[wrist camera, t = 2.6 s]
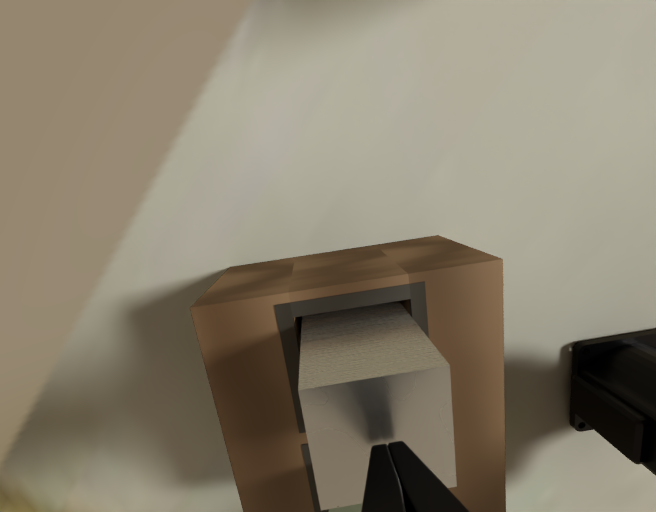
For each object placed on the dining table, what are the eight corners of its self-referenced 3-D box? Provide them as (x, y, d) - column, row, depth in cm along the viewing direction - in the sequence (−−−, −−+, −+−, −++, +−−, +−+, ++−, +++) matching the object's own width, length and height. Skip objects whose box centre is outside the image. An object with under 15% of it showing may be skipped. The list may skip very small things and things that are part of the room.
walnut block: (437, 235, 18) (503, 259, 12) (449, 424, 20) (506, 520, 15) (230, 266, 17) (189, 308, 11) (272, 454, 20) (257, 565, 14)
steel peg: (391, 291, 14) (449, 365, 8) (399, 369, 14) (456, 486, 9) (302, 305, 13) (298, 390, 8) (316, 383, 14) (320, 510, 9)
